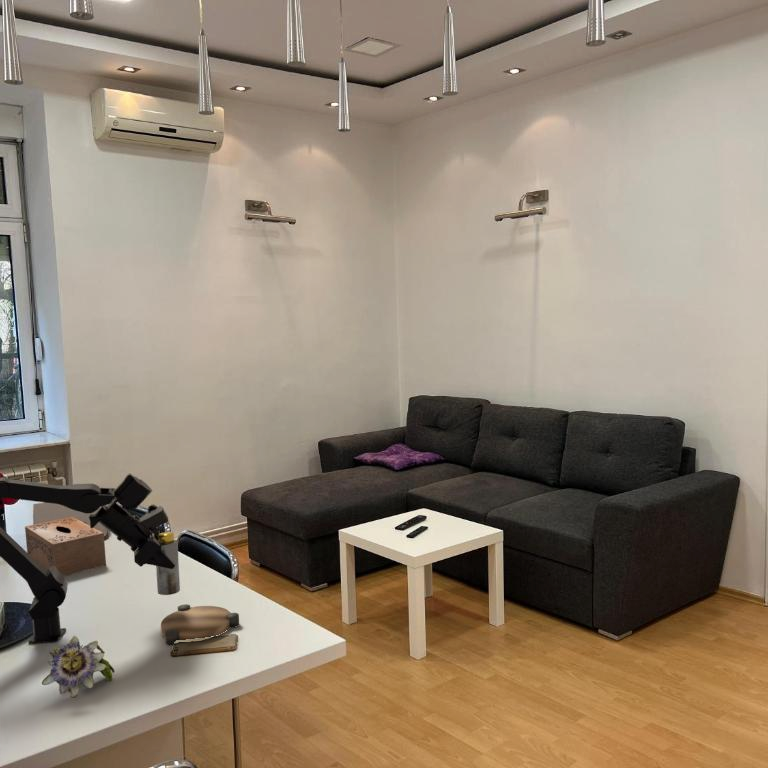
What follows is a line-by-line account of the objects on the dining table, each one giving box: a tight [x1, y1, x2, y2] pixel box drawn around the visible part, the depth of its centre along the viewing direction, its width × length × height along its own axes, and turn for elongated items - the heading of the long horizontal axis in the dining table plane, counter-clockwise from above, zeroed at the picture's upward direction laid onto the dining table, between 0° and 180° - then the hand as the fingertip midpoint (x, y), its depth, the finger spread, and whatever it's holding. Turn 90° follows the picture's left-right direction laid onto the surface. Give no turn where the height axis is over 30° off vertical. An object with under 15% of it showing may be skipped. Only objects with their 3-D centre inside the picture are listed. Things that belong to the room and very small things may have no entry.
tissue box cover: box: [24, 517, 107, 576], centre depth 233 cm, size 26×14×10 cm, turn 41°
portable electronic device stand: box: [32, 502, 108, 538], centre depth 259 cm, size 23×23×9 cm
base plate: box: [160, 604, 240, 646], centre depth 181 cm, size 17×18×2 cm
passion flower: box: [41, 635, 115, 698], centre depth 155 cm, size 11×11×12 cm
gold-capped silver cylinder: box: [156, 531, 181, 596], centre depth 186 cm, size 5×5×14 cm
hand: (173, 563), depth 186 cm, fingers closed on gold-capped silver cylinder, 5 cm apart
